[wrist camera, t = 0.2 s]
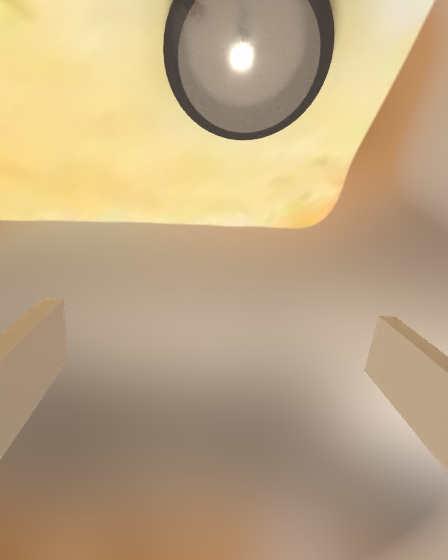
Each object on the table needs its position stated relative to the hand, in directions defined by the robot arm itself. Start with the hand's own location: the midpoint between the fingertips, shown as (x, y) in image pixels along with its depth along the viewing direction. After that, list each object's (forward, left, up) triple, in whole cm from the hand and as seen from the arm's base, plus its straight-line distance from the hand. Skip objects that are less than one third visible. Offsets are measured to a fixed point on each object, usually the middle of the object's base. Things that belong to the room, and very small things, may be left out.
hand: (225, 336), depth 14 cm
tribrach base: (+2, +2, -35) cm, 35 cm away
